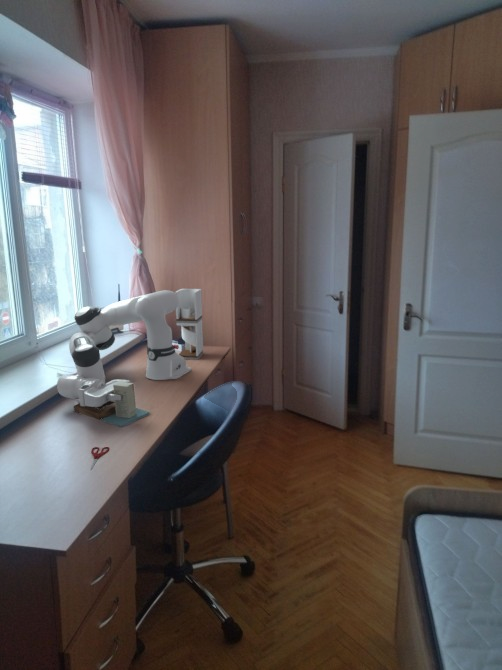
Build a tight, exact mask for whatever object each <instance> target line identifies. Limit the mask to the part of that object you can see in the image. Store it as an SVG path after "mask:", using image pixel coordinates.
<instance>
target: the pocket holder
mask: <svg viewBox="0 0 502 670" xmlns="http://www.w3.org/2000/svg"><path fill="white" fill-rule="evenodd" d="M102 406H103V407H101V408H98V407H90V406H80V402H79V403H77V404H73V412H74V413H75V414H76V413H77V414H80V415H83V416H86V417H89V418H91V419H95V420H98V421H100V420H102V419H103V418H105V417H107V416H110V415H112V414H114V413H116V409H115V400H112V401H108V402H107V403H105V404H103V405H102Z"/></svg>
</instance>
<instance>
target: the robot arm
mask: <svg viewBox="0 0 502 670" xmlns="http://www.w3.org/2000/svg"><path fill="white" fill-rule="evenodd" d="M178 305H179V298H178V296H177V295H176V293H175V291H173V290H168V289H164V290H159V291H155V292H152V293H151V292H150V293H146V294H143V295H139V296H136V297H135V296H134V297H130V298H128V299H124V300H120V301H117V302H113V303H110V304H108V305H107V306H105V307H104V308H103V309H102V308H101V307H99V306H92V305H91V306H90V305H88V306H84V307H82V308H80V309H79V310H78V311H77V312H76V313H75V315H74V317H73V318H74V321H75V323H76V325H77V326H78V327H79V329H80V330H81V331H79V332H76V333H74V334H73V335H72V336H71V337H70V340H69V343H68V344H69V345H68V349H69V353H70V356H71V358H72V360H73V362H74V365H75V369H76V372H77V373H76V374H73V375H72V374H70V375H69V374H66V375H64V374H63V375H61V376H59V377H58V379H57V383H56V387H57V392H58V393H59V395H60V396H62V397H64V398H67V399H72V400H78V401H79V403H80V406H90V407H95V408H98V407H101V406H104V405H103V404H105V403H107V402H108V401H112V400H122V399H123V395H122V394H117V395H115V394H114V387H113V385H114V384H116V383H119V382H128V383H131V381H130V380H129V379H118V378H117V379H112V380H109V381H108V382H107V381H106V374H105V371H104V367H103V366H104V365H103V363H102V357H101V353H100V351H105V350H108V349H109V348H111V347H112V346H113V345H114V343H115V341H116V337H115V334H114V332H113V331H112V330H111V328H110V327H111V326H124V325H129V324H133V323H138V322H143V323H144V325H145V328H146V329H145V330H146V338H147V341H146V342H147V346H146V354H147V360H146V370H145V373H146V374H145V378H146V379H149V380H153V381H154V380H155V381H165V380H177V379H179V378H181V377H182V376H184V375H185V374H187V373H189V372H191V371H192V368H191V367H190V366H188V365H187V362H186V359H184V358H183V357H182V356H180V355H179V353H178V352H176V350H179V348H180V345H179V344H173V330H172V327H171V326H170V325H168V322H167V319H166V315H168V314H172V312H175V311H176V308H177V307H178Z"/></svg>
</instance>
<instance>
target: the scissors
mask: <svg viewBox="0 0 502 670" xmlns="http://www.w3.org/2000/svg"><path fill="white" fill-rule="evenodd" d="M105 449H106V450H105ZM95 450H96V451H95ZM104 450H105V451H104ZM90 451H91V454H92V456H93V462H92V465H91V467H90V470H92V469H94V466H95V464H96V462H97V461H98V460H99V459H100V458H101V457H102V456H104V455H105V454H107V453H108V452H109V451H110V446H104V447H102V448H101V451H100V447H99V446H95V447H92V448H91V450H90ZM99 451H100V452H99Z"/></svg>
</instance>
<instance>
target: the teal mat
mask: <svg viewBox="0 0 502 670" xmlns="http://www.w3.org/2000/svg"><path fill="white" fill-rule="evenodd" d="M149 415H151V412H150V411H147V410H145V409H141V408H139V407H138V408H137V407H136V415H134V416H133V417H131V418H124V417H118V416H116V413H114V414H112V415H110V416H107V417H105V418H103V419H101V421H102V422H104V423H107V424H111V425H114V426H116V427H118V428H123V427H125V426H127V425H129V424H131V423H134V422H135V421H138V420H140V419H142V418H144V417H146V416H149Z"/></svg>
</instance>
